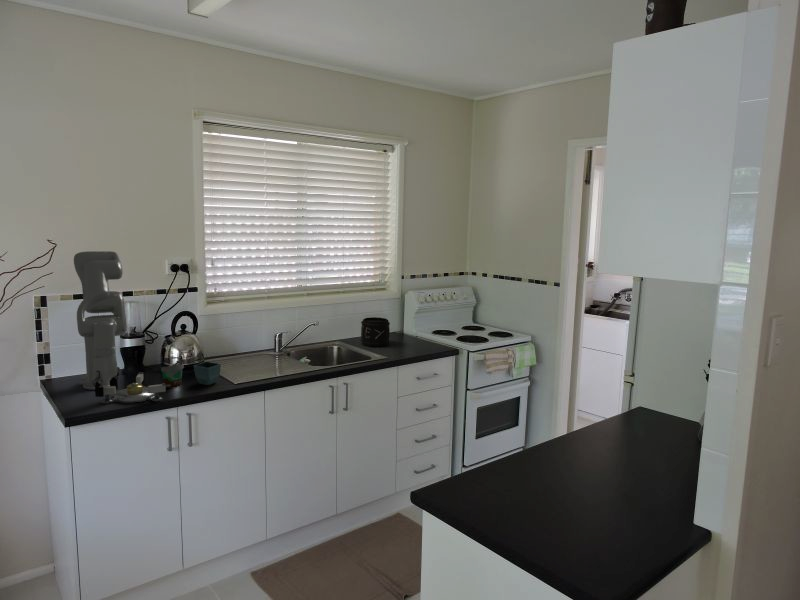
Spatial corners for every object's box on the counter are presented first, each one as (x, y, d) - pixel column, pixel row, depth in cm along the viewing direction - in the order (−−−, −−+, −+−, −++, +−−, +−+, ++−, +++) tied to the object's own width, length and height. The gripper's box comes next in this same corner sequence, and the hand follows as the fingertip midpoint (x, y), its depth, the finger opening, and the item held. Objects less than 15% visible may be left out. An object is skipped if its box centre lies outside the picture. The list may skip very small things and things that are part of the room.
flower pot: (209, 387, 258) (208, 368, 257) (193, 384, 261) (193, 365, 260) (221, 382, 267) (221, 363, 265) (206, 379, 270) (205, 361, 268)
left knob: (141, 388, 249) (140, 376, 248) (136, 389, 249) (135, 376, 248) (143, 384, 255) (143, 372, 254) (139, 384, 255) (138, 372, 254)
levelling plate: (98, 403, 233) (97, 389, 232) (138, 387, 255) (138, 374, 254) (141, 409, 227) (141, 395, 226) (179, 392, 249) (179, 379, 248)
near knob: (116, 398, 236) (115, 385, 235) (115, 399, 234) (114, 386, 233) (99, 399, 234) (98, 386, 233) (97, 400, 232) (97, 387, 231)
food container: (174, 390, 253) (173, 368, 251) (161, 388, 254) (161, 366, 253) (189, 382, 265) (189, 361, 263) (177, 381, 266) (177, 360, 264)
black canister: (353, 344, 354) (354, 319, 352) (373, 340, 368) (374, 315, 365) (375, 349, 342) (376, 323, 340) (394, 344, 356) (395, 319, 354)
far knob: (149, 399, 236) (148, 386, 235) (148, 397, 238) (148, 384, 237) (165, 397, 239) (165, 384, 239) (164, 395, 241) (164, 382, 240)
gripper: (109, 346, 240) (110, 386, 242) (82, 356, 223) (84, 399, 225) (126, 347, 239) (127, 387, 242) (100, 357, 222) (102, 400, 225)
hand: (106, 392), depth 233 cm, fingers open, 9 cm apart
